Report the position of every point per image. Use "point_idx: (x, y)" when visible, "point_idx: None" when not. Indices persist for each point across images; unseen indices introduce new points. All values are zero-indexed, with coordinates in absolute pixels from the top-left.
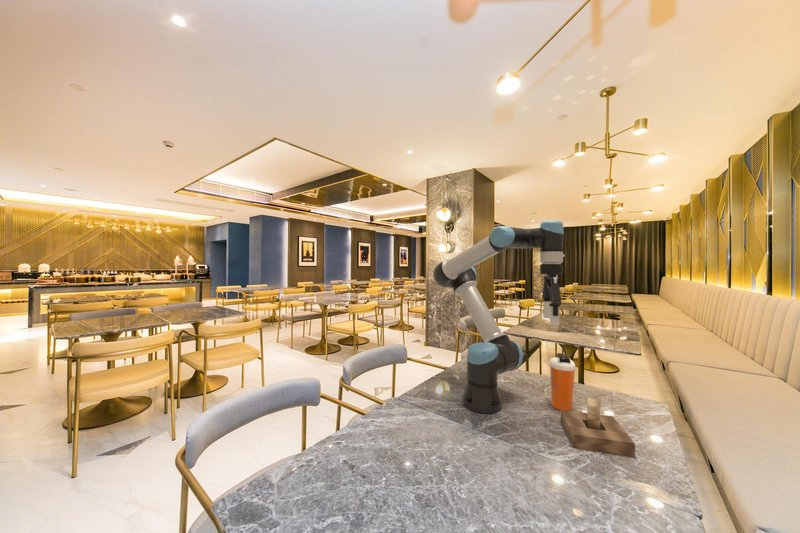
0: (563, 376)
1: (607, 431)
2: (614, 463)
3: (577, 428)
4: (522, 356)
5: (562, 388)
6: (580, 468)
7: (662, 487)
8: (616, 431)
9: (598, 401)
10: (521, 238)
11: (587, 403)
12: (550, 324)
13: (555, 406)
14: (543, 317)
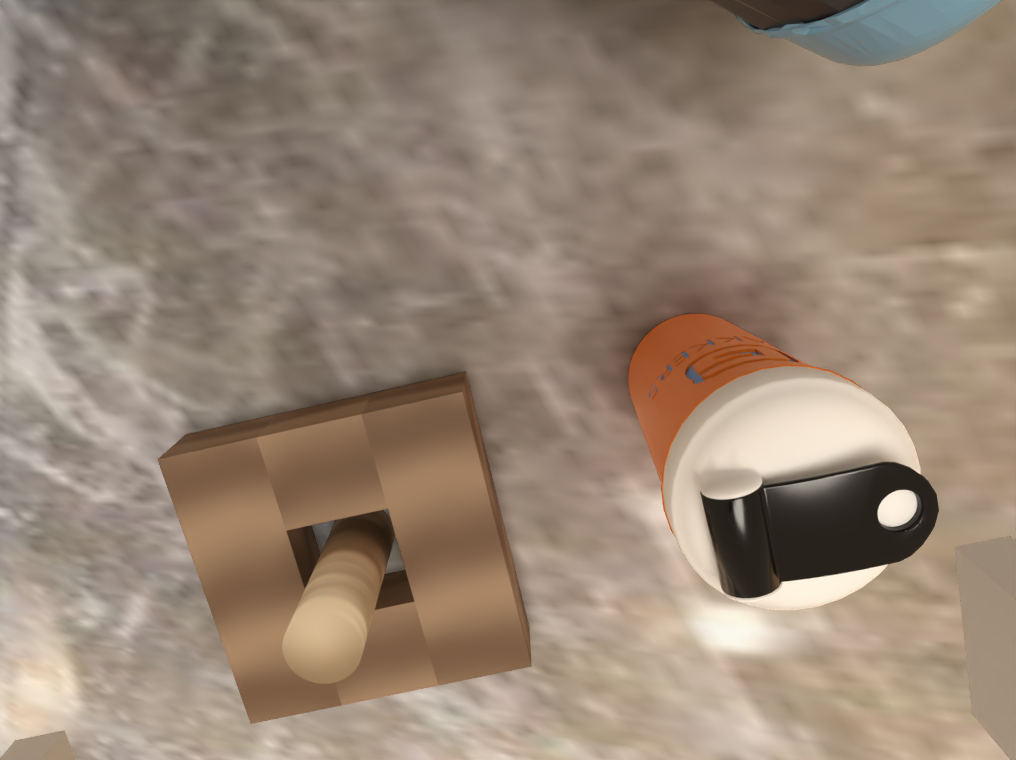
0: (659, 471)
1: None
2: (157, 597)
3: (248, 482)
4: (861, 59)
5: (646, 428)
6: (13, 462)
7: (89, 734)
8: None
9: (312, 672)
10: None
11: (328, 595)
12: (22, 744)
13: (643, 341)
14: (967, 555)
